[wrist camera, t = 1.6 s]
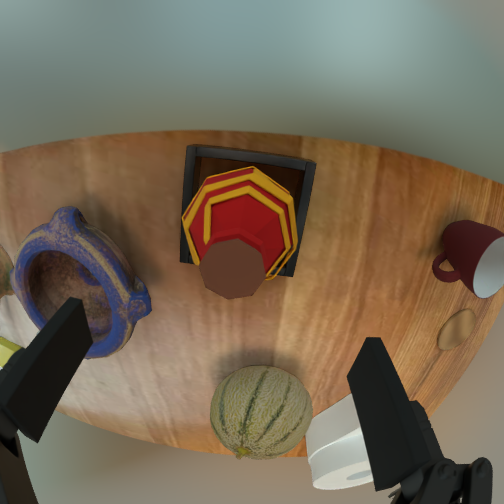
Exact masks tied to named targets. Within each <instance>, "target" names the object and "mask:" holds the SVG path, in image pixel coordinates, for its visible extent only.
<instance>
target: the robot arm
mask: <svg viewBox="0 0 504 504" xmlns="http://www.w3.org/2000/svg"><path fill="white" fill-rule="evenodd" d="M92 344H93V339H92V336H91V332H90V329H89V325H88V321H87V317H86V313H85V309H84V305H83V301H82V299H78V298H74V297H69V298H68V299H67V300H66V301H65V303H64V304H63V305H62V306H61V307H60V308H59V309H58V310H57V312H56V313H55V314H54V315H53V316H52V317H51V319H50V320H49V321H48V322H47V323H46V325H45V326H44V327H43V328H42V329H41V331H40V332H39V333H38V334H37V336H36V337H35V338H34V339H33V341H32V342H31V343H30V344H29V346H28V347H27V348H26V349H25V348H23V347H22V348H20V349H19V350H17V351H16V352H14V353H13V354H12V356H11V357H10V358H9V360H8V361H7V363H6V364H5V365H4V366H3V369H1V370H0V504H38V501H37V498H36V496H35V493H34V490H33V487H32V484H31V481H30V478H29V475H28V471H27V468H26V465H25V461H24V457H23V453H22V449H21V445H20V440H19V436H18V434H17V430H18V429H19V430H20V431H21V432H22V433H23V434H24V435H25V436H26V437H28V438H29V439H31V440H33V441H35V442H36V443H38V442H39V440H40V438H41V436H42V434H43V431H44V430H45V427H46V426H47V423H48V422H49V420H50V418H51V416H52V414H53V412H54V410H55V408H56V406H57V404H58V402H59V401H60V399H61V397H62V395H63V393H64V391H65V390H66V388H67V386H68V384H69V383H70V381H71V379H72V377H73V376H74V374H75V372H76V370H77V369H78V367H79V365H80V364H81V362H82V360H83V359H84V357H85V355H86V354H87V352H88V350H89V349H90V347H91V346H92ZM347 380H348V383H349V386H350V390H351V393H352V397H353V401H354V404H355V408H356V411H357V415H358V419H359V423H360V427H361V430H362V434H363V438H364V442H365V446H366V450H367V455H368V459H369V463H370V467H371V472H372V476H373V481H374V485H375V490H376V491H380V490H384V489H388V488H392V487H394V486H395V485H397V484H398V483H400V485H401V487H400V488H399V489H397V490H395V491H394V492H392V493H391V494H390V495H389V496H388V497H389V498H390V497H392V496H394V495H395V497H394V498H393V500H392V502H391V504H491V499H492V477H493V476H492V475H493V474H492V472H493V470H492V465H491V463H490V461H489V460H488V459H487V458H484V457H481V458H478V459H477V460H475V461H474V462H473V463H471V464H455V462H454V461H452V460H451V459H447V458H445V457H444V456H443V454H442V451H441V449H440V446H439V443H438V441H437V438H436V436H435V433H434V431H433V428H431V424H430V421H429V420H428V416H427V414H426V412H425V409H424V408H423V407H422V406H421V405H420V403H419V402H418V401H417V400H415V401H409V399H408V396H407V394H406V392H405V389H404V387H403V385H402V383H401V380H400V378H399V376H398V374H397V372H396V369H395V367H394V365H393V363H392V361H391V359H390V356H389V354H388V352H387V350H386V348H385V346H384V344H383V342H382V340H381V338H380V337H366V339H365V341H364V343H363V346H362V348H361V350H360V352H359V354H358V356H357V358H356V360H355V362H354V364H353V365H352V367H351V369H350V371H349V373H348V375H347ZM461 497H462V503H460V498H461Z"/></svg>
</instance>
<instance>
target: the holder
mask: <svg viewBox="0 0 504 504" xmlns="http://www.w3.org/2000/svg"><path fill="white" fill-rule="evenodd" d="M201 157H208V158H218V159H227V160H236V161H244V162H251V163H259V164H266V165H272V166H279V167H285V168H291V169H297V170H300V174H299V179H298V185H297V191H296V196H295V201H294V212H295V220H296V229H297V238H298V243H297V246H296V250H295V251H294V253H293V254H292V255H291V257H290V258H289V259H288V261H287V262H286V263H285V264H284V266H283V267H282V268H281V270H280V271H279V272H278V274H277V275H280V276H288V277H293V275H294V270H295V266H296V262H297V257H298V253H299V248H300V244H301V239H302V235H303V230H304V225H305V220H306V216H307V211H308V206H309V201H310V196H311V191H312V185H313V180H314V175H315V169H316V164H317V163H316V162H314V161H312V160H309V159H304V158H298V157H293V156H287V155H281V154H274V153H268V152H261V151H253V150H246V149H238V148H229V147H220V146H209V145H198V144H193V145H188V146H187V150H186V160H185V172H184V185H183V199H182V216H183V215H184V213H185V211H186V210H187V208H188V206H189V205H190V203H191V202H192V200H193V198H194V197H195V195H196V194H197V192H198V186H199V175H200V165H201ZM182 216H181V239H180V262H183V263H190V264H194V262H193V259H192V255H191V252H190V248H189V245H188V241H187V238H186V234H185V230H184V227H183V221H182ZM292 247H293V245H292V246H291V248H292ZM291 248H290V249H289V251H288V252H287V253H286V254H285V256H284V257H283V258H282V260H281V261H280V262H279V263H278V265H277V266H276V268H275V269H274V270H273V271H272V272H271V274H272V275H275V273H276V272H277V270H278V269H279V267H280V266H281V264H282V263H283V261H284V259H285V258H286V256H287V255H288V253H289V252H290V250H291Z"/></svg>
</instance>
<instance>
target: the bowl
mask: <svg viewBox="0 0 504 504" xmlns="http://www.w3.org/2000/svg"><path fill="white" fill-rule="evenodd" d="M89 270H90V271H91V272H92V273H91V272H90V271H89ZM10 281H11V285H12V289H13V291H14V292H15V294H16V296H17V297H18V299H19V301H20V302H21V304H22V306H23V307H24V309H25V311H26V313H27V314H28V316H29V318H30V319H31V320H32V322H33V323H34V324H35V325H36V327H37V328H38V329H39V330H40V331H41V329H42V328H43V327H44V326H45V325H46V323H47V322H48V321H49V320H50V319H51V317H52V316H53V315H54V314H55V313H56V312H57V310H58V309H59V308H60V307H61V306H62V305H63V304H64V303H65V301H66V300H67V299H68V298H69V297H74V298H78V299H82V301H83V305H84V309H85V313H86V317H87V321H88V325H89V329H90V332H91V336H92V339H93V344H92V346H91V347H90V349H89V350H88V352H87V354H86V355H85V357H84V358H85V359H94V358H102V357H108V356H110V355H112V354H114V353H116V352H118V351H119V350H121V349H122V348H123V347H124V345H125V344H126V343H127V342H128V340H129V339H130V337H131V335H132V333H133V330H134V327H135V325H136V323H137V321H138V320H139V319H141V318H143V317H145V316H147V315H148V314H149V313H150V312H151V311H152V308H151V298H150V295H149V293H148V290H147V288H146V286H145V285H144V283H143V282H142V281H141V280H140V279H139V278H138V277H137V276H136V275H135V274H134V273H133V271H132V269H131V267H130V264H129V262H128V261H127V259H126V257H125V255H124V253H123V252H122V251H121V250H120V248H119V247H118V246H117V245H116V244H115V243H114V242H113V241H112V240H111V239H110V238H109V237H108V236H107V235H106V234H105V233H103V232H102V231H101V230H99V229H97V228H95V227H93V226H91V225H89V224H88V223H87V222H86V220H85V219H84V217H83V215H82V213H81V212H80V211H79V209H78V208H75V207H72V206H67V207H62V208H60V209H58V210H57V211H56V212H55V214H54V216H53V218H52V220H51V221H50V223H47V224H42V225H40V226H39V227H37V228H35V229H34V230H32V231H31V232H30V234H29V235H28V236H27V237H26V238H25V240H24V241H23V242H22V243H21V245H20V247H19V249H18V251H17V254H16V256H15V263H14V267H13V268H12V270H11V271H10Z"/></svg>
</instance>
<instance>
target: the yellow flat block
mask: <svg viewBox="0 0 504 504" xmlns="http://www.w3.org/2000/svg"><path fill="white" fill-rule="evenodd" d="M20 348H22V347H20V346H18V345H16V344H14V343H12V342H10V341H8V340H6V339H4V338H2V337H0V366H1V367H2V368H3V366H4V365H5V364H6V363H7V361H8V360H9V358H10V357H11V356H12V354H13V353H14V352H16V351H17V350H19V349H20Z"/></svg>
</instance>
